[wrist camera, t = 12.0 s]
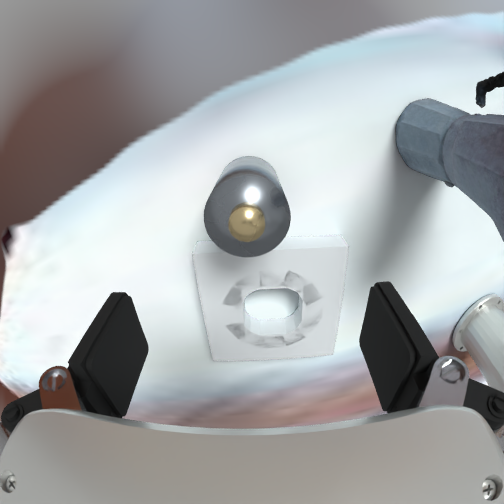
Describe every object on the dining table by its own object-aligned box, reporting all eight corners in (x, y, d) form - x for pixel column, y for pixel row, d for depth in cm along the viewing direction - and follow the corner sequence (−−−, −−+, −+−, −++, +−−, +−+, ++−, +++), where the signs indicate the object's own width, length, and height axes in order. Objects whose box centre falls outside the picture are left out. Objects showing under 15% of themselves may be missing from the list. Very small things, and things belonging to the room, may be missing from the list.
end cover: (277, 154, 27) (292, 177, 17) (279, 211, 30) (292, 263, 20) (217, 158, 27) (195, 183, 17) (222, 214, 30) (206, 267, 20)
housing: (341, 234, 31) (348, 246, 28) (328, 339, 38) (333, 354, 36) (197, 241, 32) (192, 253, 29) (215, 345, 39) (212, 361, 36)
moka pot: (388, 199, 29) (510, 305, 11) (384, 62, 22) (533, 34, 4) (451, 197, 29) (568, 281, 11) (452, 75, 22) (590, 84, 4)
